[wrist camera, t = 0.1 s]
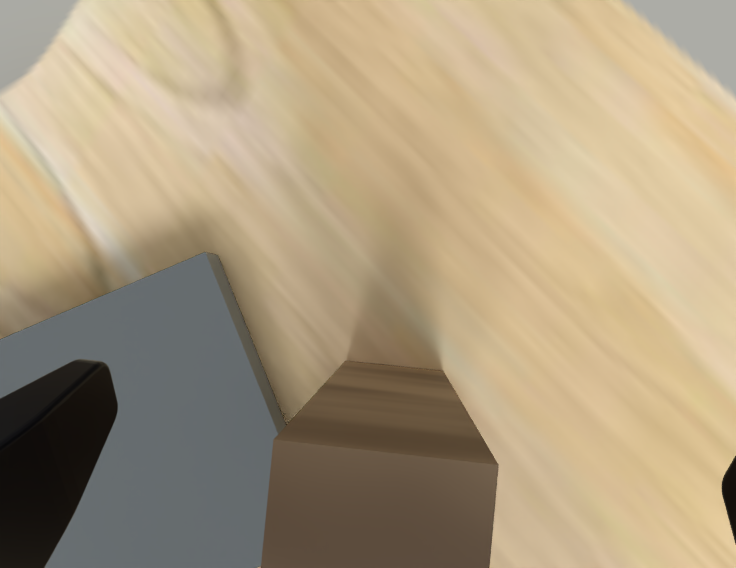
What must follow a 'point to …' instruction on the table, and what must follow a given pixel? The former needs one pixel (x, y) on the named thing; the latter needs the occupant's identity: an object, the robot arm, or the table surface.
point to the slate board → (165, 422)
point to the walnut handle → (381, 476)
